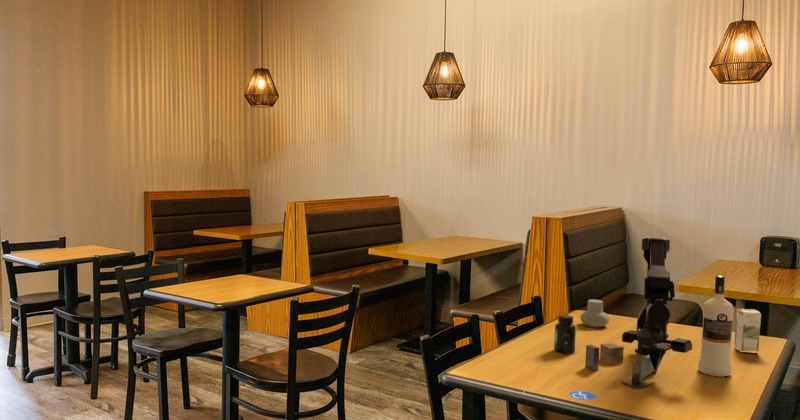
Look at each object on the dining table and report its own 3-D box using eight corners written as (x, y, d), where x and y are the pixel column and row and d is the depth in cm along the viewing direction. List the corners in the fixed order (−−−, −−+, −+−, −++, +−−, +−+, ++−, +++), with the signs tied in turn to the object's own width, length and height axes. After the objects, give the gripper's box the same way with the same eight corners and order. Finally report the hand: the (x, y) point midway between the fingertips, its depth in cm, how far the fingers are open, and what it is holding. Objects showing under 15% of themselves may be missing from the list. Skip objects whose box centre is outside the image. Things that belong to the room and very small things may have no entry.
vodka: (728, 370, 195) (734, 274, 193) (734, 379, 187) (740, 279, 185) (695, 366, 198) (701, 272, 196) (700, 375, 189) (706, 277, 187)
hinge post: (635, 381, 183) (636, 357, 182) (648, 386, 178) (649, 362, 178) (622, 383, 181) (623, 359, 180) (634, 388, 176) (635, 364, 176)
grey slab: (640, 383, 180) (641, 363, 180) (633, 382, 181) (635, 362, 181) (657, 371, 192) (658, 352, 191) (651, 369, 193) (652, 351, 193)
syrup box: (750, 349, 220) (753, 308, 219) (758, 354, 214) (761, 312, 213) (733, 348, 220) (736, 307, 219) (741, 353, 214) (743, 311, 213)
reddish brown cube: (612, 357, 206) (612, 342, 205) (622, 362, 201) (623, 347, 201) (599, 359, 204) (600, 344, 203) (610, 363, 199) (611, 348, 199)
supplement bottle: (552, 352, 209) (554, 317, 208) (555, 347, 215) (556, 313, 215) (573, 355, 207) (575, 319, 206) (575, 350, 213) (577, 315, 212)
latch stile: (591, 366, 195) (592, 344, 195) (599, 370, 192) (600, 347, 192) (585, 367, 195) (586, 345, 194) (592, 370, 191) (593, 348, 191)
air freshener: (581, 327, 245) (582, 302, 244) (578, 322, 253) (579, 298, 252) (610, 329, 243) (611, 303, 242) (607, 324, 251) (608, 299, 251)
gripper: (613, 316, 185) (612, 368, 186) (677, 326, 172) (676, 382, 173) (630, 311, 193) (629, 361, 194) (693, 320, 180) (692, 374, 180)
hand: (655, 370), depth 185 cm, fingers closed
